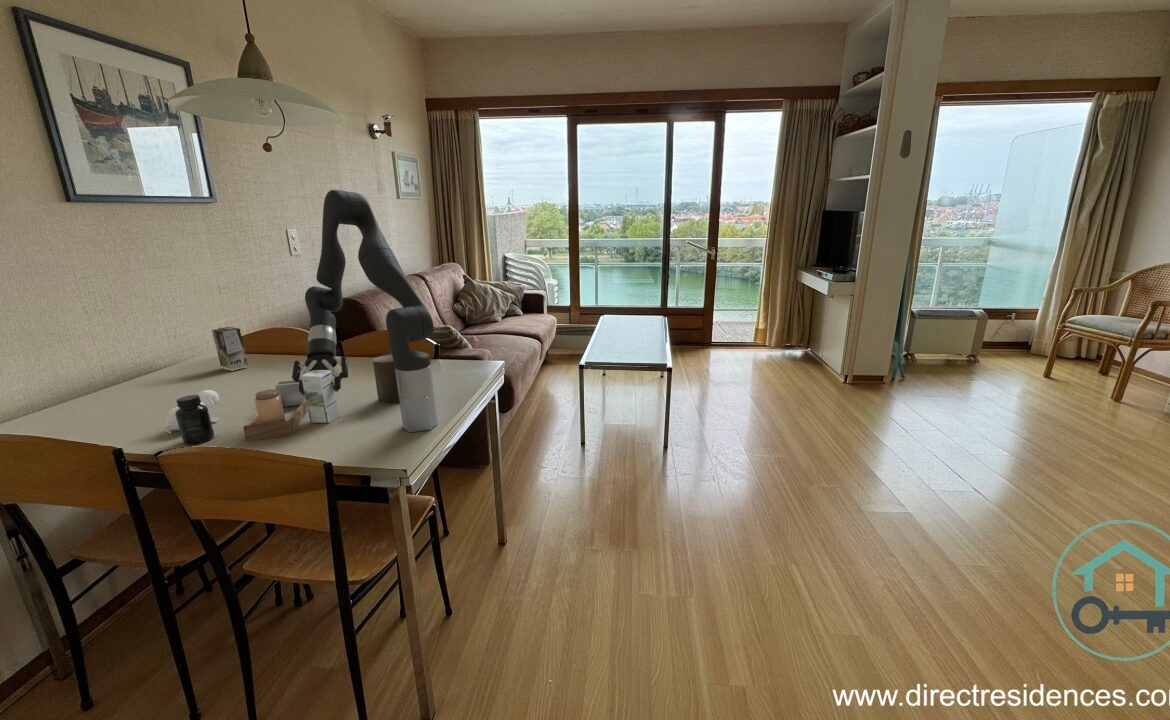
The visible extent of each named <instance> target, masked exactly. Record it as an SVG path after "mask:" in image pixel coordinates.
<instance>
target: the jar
mask: <svg viewBox="0 0 1170 720" xmlns="http://www.w3.org/2000/svg"><path fill="white" fill-rule="evenodd" d="M254 404H255V409H256V412H257V416H258V418H259V422H260V424H262V423H271V422H280V421H287V420H286V417H285V411H284V407H283V405H282V400H281V395H280V394H279V393H278V390H276V389H275V388H274V389H265V390H261V391H258V392H256V393H255V397H254Z"/></svg>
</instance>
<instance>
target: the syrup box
mask: <svg viewBox="0 0 1170 720" xmlns="http://www.w3.org/2000/svg"><path fill="white" fill-rule="evenodd" d="M301 375H302V374H301ZM301 375H300V376H301ZM301 378H302V383H303V387H304V392H305V397H306V402H307V407H308V411H307V413H308V415H309V421H310V423H311V424H330V423H331V422H333V421H335V420H336V419H337V418H339V417H340V411H339V406H338V401H337V397H336V396H337V395H336V392H335V390H334V377H333V375H332V373H331V370H312V371H309V372H307V373H305V374H304V375H302V376H301Z"/></svg>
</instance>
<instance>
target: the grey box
mask: <svg viewBox="0 0 1170 720" xmlns="http://www.w3.org/2000/svg"><path fill="white" fill-rule="evenodd" d="M274 387H275V390H278V393H279V394H280V395H281V400H282V405H283V408H284V407H285V408H286V407H292V406H293V407H294V406H300V405H301V403H302V402H303V401H304V399H305V398H306V397H305V395H302V393H300V391H299V382H297V383H296V382H295V383H285V384H278V383H277V384H276V385H275V386H274Z"/></svg>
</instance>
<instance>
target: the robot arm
mask: <svg viewBox="0 0 1170 720" xmlns="http://www.w3.org/2000/svg"><path fill="white" fill-rule="evenodd" d="M340 225H347V226H348V225H349V226H355V227H357V228H358V230H359V232H360V234H361V235H362V239H361V242H360V245H359V248H358V253H357V259H358V262H359V265H360V267H361V269H362V270H363V272H364V274H365V276H366V278H367V279H368V281H370V282H371V284H373V286H375V287H376V288H378V289H379V290H380V291H382V292H384V293H386V294H387V295H389V296H390V297H392V298H393V299H395V301H397V302H398V303H399V304H400V305H401V306H402V307H397V308H392V309H390V310H388V312H387V313H386V317H385V325H386V332H387V335H388V340H389V347H390V353H391V355H392V357H393V361H394V365H395V371H396V379H397V386H398V394H399V401H400V402H399V407H400V414H401V421H402V427H403V430H405V431H407V433H413V432H422V431H423V432H424V431H431V430H432V429H433V428H434V427H435V426H436V425H438V414H437V406H436V398H435V389H434V387H435V386H434V382H433V381H434V380H433V373H432V372H433V371H432V363H431V362H432V361H431V356H430V354H429V353H427V352H424V351H418V350H412V349H411V347H410V343H413V342H417V341H422V340H427V339H428V338H431V336H433V334H434V332H435V331H434V330H435V324H434V321H433V318H432V315H431V313H430V311H429V310H428V308H427V306H426V305H425V303H424V302H423V301H422V299H421V297H420V296H419V295H418V293H417V292H416V290H415V289H414V287H412V284H411V283H410V281H409V280H408V278H407V276H406V275H405V273H404V271H403V268H402V267H401V265H400V263H399V261H398V259H397V257H396V256H395V254H394V252H393V250H392V249H391V247H390V246H389V244H388V242H387V240H386V238H385V236H384V234H383V232H382V230H381V227H380V226H379V223H378V221H377V218H376V216H375V214H374V212H373V209H372V207H371V204H370V203H369V201H368V199H367V197H365V196H364V195H363V194H361V193H358V192H354V191H353V192H352V191H347V190H341V189H331V190H329V191H327V192H326V195H325V198H324V201H323V208H322V224H321V226H322V227H321V228H322V229H321V251H320V257H319V263H318V268H317V272H316V281H317V282H318V283H319V284H320V285H321V286H322V285H323V286H324V287H320V286H310V287H309V288H307V290H306V291H305V294H304V301H305V305H306V308H307V311H308V314H309V331H308V335H307V351H306V353H307V354H306V359H305V361H299V360H295V361H294V362H293V367H292V368H293V369H292V374H291V375H292V376H291V379H292V381H293V380H294V381H295V382H296V383H297V382H299V391H300V393H302V395H305V392H304V387H303V383H302V378H301V376H302V375H304V374H305V373H307V372H309V371H312V370H331V373H332V377H333V384H334V390H335V393H337V392H339V390H341V388H342V380H343V379H347V378H348V377H349V364H348V360H347V358H346V357H345V356H341V357H340V358H337V333H336V330H337V329H336V328H337V327H336V326H337V318H336V316H335V314H333V313H336V312H338V311H340V310H341V309H342V307H343V303H344V301H343V300H344V299H343V290H342V284H343V277H344V274H345V269H346V261H347V260H346V256H345V253H344V251H343V248H342V246H341V244H340V241H339V238H338V230H339V226H340ZM325 287H326V288H325ZM338 364H339V366H341V372H338V371H337V370H336V368H335V367H336V366H337V365H338ZM305 367H306V368H305ZM303 369H304V370H303ZM302 370H303V372H302V374H301V371H302Z"/></svg>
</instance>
